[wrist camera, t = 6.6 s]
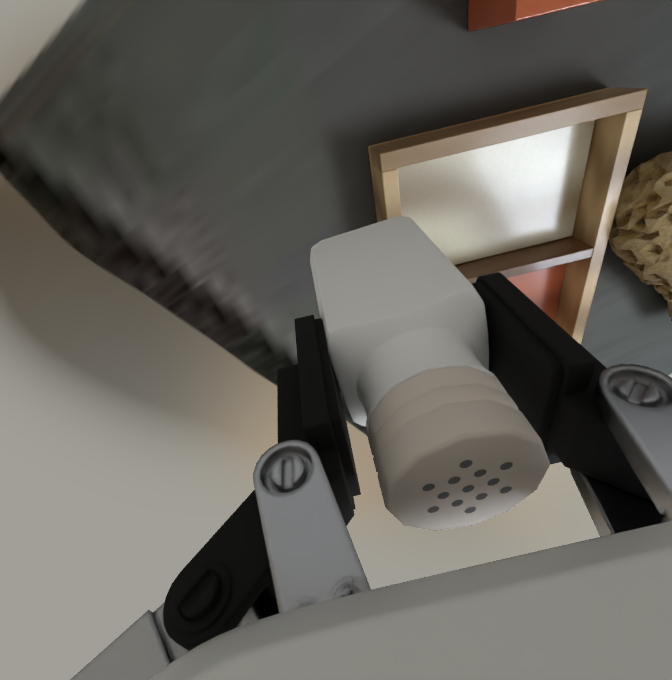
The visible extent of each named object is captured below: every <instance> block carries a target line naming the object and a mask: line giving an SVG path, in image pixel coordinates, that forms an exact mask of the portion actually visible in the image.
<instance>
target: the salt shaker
mask: <svg viewBox="0 0 672 680" xmlns="http://www.w3.org/2000/svg"><path fill="white" fill-rule="evenodd" d="M310 263H311V269H312V274H313V280H314V285H315V291H316V297H317V302H318V308H319V313H320V318H322V323H323V328H324V333H325V339H326V344H327V348H328V353H329V357H330V360H331V364H332V367H333V370H334V373H335V376H336V379H337V382H338V384H339V387H340V390H341V393H342V395H343V398H344V400H345V403H346V405H347V408H348V410H349V412H350V415H351V417H352V419H353V421H354V422H355V423H357V424H360V425H362V426H366V429H367V436H368V438H369V439H368V440H369V444H370V448H371V452H372V455H373V456H374V458H373V460H374V464H375V467H376V471H377V472H378V479H379V483H380V487H381V491H382V495H383V499H384V503H385V507H386V508H387V509H388V510H389V511H390V512H391V513H392V514H393V515H394V516H395V517H396V518H397V519H398V520H399V521H400V522H401V523H402V524H403V525H405V526H412V527H417V528H422V529H428V530H434V531H436V530H443V529H450V528H458V527H465V526H472V525H474V524H477V523H479V522H482V521H484V520H487V519H489V518H492V517H494V516H496V515H499V514H502V513H504V512H507V511H508V510H510V509H511V508H512V507H514V506H515V505H516V504H518V503H519V502H520V501H522V500H523V499H524V498H526V497H527V496H528V495H530V494H531V493H532V492H534V491H535V490H536V489H537V487H538V485H539V484H540V482H541V480H542V478H543V477H544V475H545V473H546V471H547V469H548V468H549V466H550V462H549V459H548V456H547V454H546V451H545V448H544V445H543V443H542V440H541V438H540V437H539V436H538V434H537V433H536V432H535V430H534V429H533V427H532V426H531V425H530V423H529V422H528V420H527V419H526V418H525V416H524V415H523V414H522V412H520V411H519V409H518V407H517V405H516V404H515V402H514V401H513V400H512V398H511V397H510V396H509V395H508V394H507V391H506V390H505V389H504V387H503V386H502V384H501V383H500V382H499V380H498V379H497V378H496V376H495V375H494V374H493V373H492V372H490V371H489V342H488V328H487V320H486V312H485V305H484V302H483V300H482V298H481V297H480V295H479V294H478V292H477V291H476V289H475V288H474V287H473V285H472V284H471V283H470V282H469V281H468V280H467V279H466V278H465V277H464V275H463V274H462V273H461V272H460V271H459V270H458V269H457V268H456V267H455V266H454V265H453V263H452V262H451V261H450V260H449V259H448V258H447V257H446V256H445V255H444V254H443V253H442V251H441V250H440V249H439V248H438V247H437V246H436V245H435V244H434V243H433V242H432V241H431V239H430V238H429V237H428V236H427V235H426V234H425V233H424V232H423V231H422V230H421V229H420V227H419V226H418V225H417V224H416V223H415V222H414V221H413V220H412V219H411V218H410V217H402V216H397V217H393V218H390V219H387V220H384V221H381V222H378V223H374V224H371V225H368V226H365V227H362V228H359V229H356V230H352V231H349V232H346V233H343V234H340V235H337V236H334V237H330V238H327V239H324V240H321V241H320V242H319V243H317V244H316V245H314V246H313V247H312V248H311V255H310Z"/></svg>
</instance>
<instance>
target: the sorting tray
mask: <svg viewBox="0 0 672 680" xmlns="http://www.w3.org/2000/svg"><path fill="white" fill-rule="evenodd" d="M647 90H648V89H643V88H604V89H600V90H596V91H592V92H588V93H584V94H580V95H575V96H571V97H567V98H563V99H559V100H555V101H551V102H547V103H543V104H538V105H534V106H530V107H526V108H522V109H518V110H514V111H510V112H506V113H502V114H497V115H493V116H489V117H485V118H481V119H477V120H473V121H469V122H465V123H460V124H456V125H452V126H448V127H444V128H440V129H436V130H432V131H428V132H424V133H419V134H415V135H411V136H407V137H403V138H399V139H395V140H391V141H387V142H382V143H378V144H374V145H370V146H368V151H369V159H370V166H371V174H372V182H373V190H374V198H375V206H376V214H377V222H381V221H384V220H387V219H390V218H393V217H397V216H402V217H410V218H411V219H412V220H413V221H414V222H415V223H416V224H417V225H418V226H419V227H420V229H421V230H422V231H423V232H424V233H425V234H426V235H427V236H428V237H429V238H430V239H431V241H432V242H433V243H434V244H435V245H436V246H437V247H438V248H439V249H440V250H441V251H442V253H443V254H444V255H445V256H446V257H447V258H448V259H449V260H450V261H451V262H452V263H453V265H454V266H455V267H456V268H457V269H458V270H459V271H460V272H461V273H462V274H463V275H464V277H465V278H466V279H467V280H468V281H469V282H470V283H471V284H472V283H475V282H476V280H477V278H478V277H479V276H483V275H488V274H492V273H496V272H500V273H501V274H503V275H504V276H505V277H506V278H507V279H508V280H509V281H510V282H511V283H513V284H514V285H515V286H516V287H517V288H518V289H519V290H520V291H521V292H523V293H524V294H525V295H526V296H527V297H528V298H529V299H530V300H531V301H533V302H534V303H535V304H536V305H537V306H538V307H539V308H540V309H541V310H543V311H544V312H545V313H546V314H547V315H548V316H549V317H550V318H551V319H553V320H554V321H555V322H556V323H557V324H558V325H559V326H560V327H561V328H563V329H564V330H565V331H566V332H567V333H568V334H569V335H570V336H571V337H573V338H574V339H575V340H576V341H577V342H578V343H579V344H581V341H582V337H583V333H584V329H585V325H586V322H587V318H588V314H589V310H590V307H591V303H592V299H593V295H594V291H595V288H596V284H597V280H598V276H599V272H600V269H601V265H602V261H603V257H604V254H605V250H606V246H607V242H608V238H609V235H610V231H611V227H612V223H613V219H614V216H615V212H616V208H617V204H618V200H619V197H620V193H621V189H622V185H623V182H624V178H625V174H626V170H627V166H628V163H629V159H630V155H631V151H632V147H633V144H634V140H635V136H636V132H637V129H638V125H639V121H640V117H641V113H642V110H643V109H642V108H643V106H644V102H645V98H646V94H647Z"/></svg>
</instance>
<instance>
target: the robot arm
mask: <svg viewBox="0 0 672 680" xmlns="http://www.w3.org/2000/svg"><path fill="white" fill-rule="evenodd" d="M472 285H473V287H474V288H475V289H476V291H477V292H478V294H479V295H480V297H481V298H482V300H483V302H484V305H485V312H486V320H487V328H488V342H489V371H490V372H492V373H493V374H494V375H495V376H496V378H497V379H498V380H499V382H500V383H501V384H502V386H503V387H504V389H505V390H506V391H507V394H508V395H509V396H510V397H511V398H512V400H513V401H514V402H515V404H516V405H517V407H518V409H519V411H520V412H522V414H523V415H524V416H525V418H526V419H527V420H528V422H529V423H530V425H531V426H532V427H533V429H534V430H535V432H536V433H537V434H538V436H539V437H540V438H541V440H542V443H543V445H544V448H545V451H546V454H547V456H548V459H549V462H550V464H554V463H558V462H562V463H563V465H564V466H565V467H568V468H570V471H571V474H572V477H573V479H574V481H575V483H576V485H577V487H578V490H579V491H580V494H581V496H582V498H583V500H584V502H585V505H586V507H587V509H588V511H589V513H590V515H591V518H592V520H593V522H594V524H595V526H596V528H597V531H598V533H599V535H600V537H598V538H594V539H589V540H585V541H581V542H576V543H572V544H568V545H563V546H559V547H555V548H550V549H545V550H541V551H537V552H532V553H528V554H524V555H519V556H515V557H511V558H506V559H502V560H497V561H493V562H489V563H484V564H480V565H476V566H471V567H467V568H463V569H459V570H454V571H450V572H446V573H441V574H437V575H433V576H429V577H424V578H420V579H416V580H411V581H407V582H403V583H399V584H394V585H390V586H386V587H381V588H377V589H373V590H371V589H370V586H369V583H368V581H367V578H366V576H365V573H364V571H363V568H362V566H361V563H360V560H359V558H358V556H357V553H356V550H355V548H354V545H353V543H352V540H351V537H350V535H349V532H348V530H347V527H346V526H347V525H348V523H349V522H350V520H351V519H352V517H353V516H354V511H353V509H355V504H354V498H353V496H356V495H360V494H361V493H360V488H359V483H358V478H357V473H356V468H355V463H354V458H353V453H352V448H351V443H350V438H349V433H348V428H347V423H346V418H345V413H344V408H343V404H342V399H341V394H340V389H339V385H338V382H337V379H336V376H335V373H334V370H333V367H332V364H331V360H330V357H329V353H328V348H327V344H326V339H325V333H324V328H323V323H322V318H319V319H314V316H313V315H310V316H306V317H301V318H297V319H295V332H296V344H297V357H298V364H297V365H293V366H289V367H284V368H280V369H278V373H277V388H278V444H276V445H274V446H272V447H271V448H269V449H268V450H267V451H266V452H265V453H264V454H263V455H262V456H261V457H260V459H259V461H258V462H257V463H256V466H255V469H254V473H253V479H254V487H255V490H254V491H253V492H252V493H251V494H250V495H249V497H248V498H247V499H246V500H245V501H244V502H243V503H242V504H241V505H240V506H239V508H238V509H237V510H236V511H235V512H234V513H233V514H232V515H231V516H230V518H229V519H228V520H227V521H226V522H225V523H224V525H222V526H221V528H220V529H219V530H218V531H217V532H216V533H215V534H214V535H213V537H212V538H211V539H210V540H209V541H208V542H207V543H206V544H205V545H204V547H203V548H202V549H201V550H200V551H199V552H198V553H197V554H196V555H195V557H194V558H193V559H192V560H191V561H190V562H189V563H188V564H187V565H186V567H185V568H184V569H183V570H182V571H181V572H180V574H179V575H178V576H177V578H176V579H175V580H174V582H173V583H172V585H171V587H170V589H169V592H168V594H167V596H166V599H165V602H164V603H163V604H162V605H161V606H160V607H159V608H158V609H157V610H156V611H154V612H151V611H150V610H148V611H147V612H146V613H145V614H143V616H141V617H140V618H139V619H138V620H137V621H136V622H134V623H133V624H132V625H131V626H130V627H129V628H128V629H127V630H126V631H124V632H123V633H122V634H121V635H120V636H119V637H118V638H117V639H115V640H114V641H113V642H112V643H111V644H110V645H109V646H108V647H107V648H105V649H104V650H103V651H102V652H101V653H100V654H99V655H98V656H96V657H95V658H94V659H93V660H92V661H91V662H90V663H89V664H87V665H86V666H85V667H84V668H83V669H82V670H81V671H80V672H78V674H76V675H75V676H74V677H73V678H72V679H71V680H672V378H671V377H669V376H667V375H666V374H664V373H662V372H660V371H658V370H655V369H652V368H649V367H645V366H640V365H635V364H620V365H615V366H611V367H609V368H606V367H605V366H604V365H603V364H601V363H600V362H599V361H598V360H597V359H596V358H595V357H594V356H593V355H591V354H590V353H589V352H588V351H587V350H586V349H585V348H584V347H583V346H581V345H580V344H579V343H578V342H577V341H576V340H575V339H574V338H573V337H571V336H570V335H569V334H568V333H567V332H566V331H565V330H564V329H563V328H561V327H560V326H559V325H558V324H557V323H556V322H555V321H554V320H553V319H551V318H550V317H549V316H548V315H547V314H546V313H545V312H544V311H543V310H541V309H540V308H539V307H538V306H537V305H536V304H535V303H534V302H533V301H531V300H530V299H529V298H528V297H527V296H526V295H525V294H524V293H523V292H521V291H520V290H519V289H518V288H517V287H516V286H515V285H514V284H513V283H511V282H510V281H509V280H508V279H507V278H506V277H505V276H504V275H503V274H501V273H500V272H496V273H492V274H488V275H483V276H479V277H478V278H477V280H476V282H475V283H472Z"/></svg>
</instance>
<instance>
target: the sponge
mask: <svg viewBox="0 0 672 680" xmlns="http://www.w3.org/2000/svg"><path fill="white" fill-rule="evenodd" d="M608 239H609V242H610V246H611V249H612V251H613V252H614V253H615V254H616V255H617V256H618V257H620V258H622V259H623V264H624V265H626V266H627V267H629V268H630V269H631V270H632V271H633V272H634V273H635V274H636V275H637V276H638V277H639V279H640V280H641V281H642V282H644V283H645V284H651V285H654V288H655V290H656V291H657V292H658V293H659V294H662V295H663V297H664V299H665V300H667V301H668V303H667V305H668V307H669V308H668V312H669V316H670V317H671V318H672V151H670V152H667V153H661V154H659V155H658V156H656V157H654V158H653V159H651V160H649V161H647V162H646V163H641V164H640V165H638V166H637V167H635V168H634V169H633V170H632V171H631V173H630V174H629V175H628V176H627V177H626V179H625V180H624V182H623V185H622V189H621V193H620V197H619V200H618V204H617V208H616V212H615V216H614V219H613V223H612V227H611V231H610V235H609V238H608ZM671 321H672V320H671Z"/></svg>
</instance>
